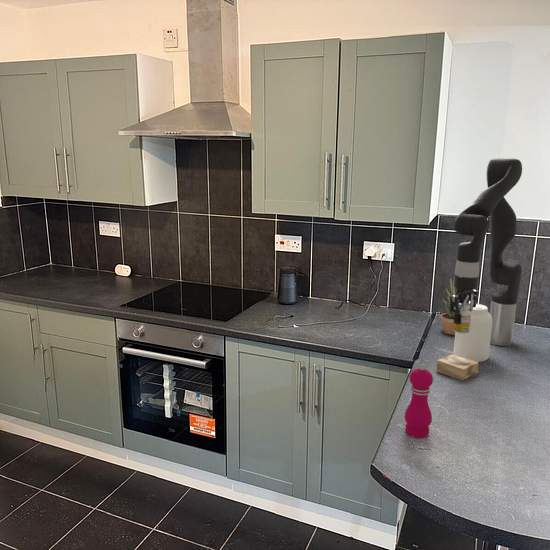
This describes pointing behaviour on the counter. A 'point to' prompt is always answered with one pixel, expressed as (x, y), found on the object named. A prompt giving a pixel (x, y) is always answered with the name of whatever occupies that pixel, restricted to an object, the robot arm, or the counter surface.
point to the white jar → (475, 336)
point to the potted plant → (448, 314)
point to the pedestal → (457, 366)
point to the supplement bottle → (464, 321)
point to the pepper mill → (419, 403)
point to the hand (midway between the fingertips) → (462, 321)
